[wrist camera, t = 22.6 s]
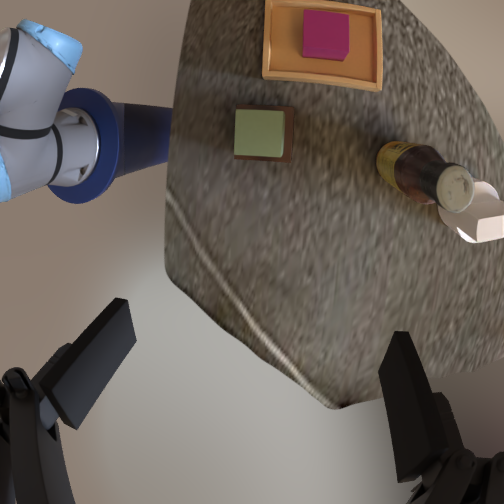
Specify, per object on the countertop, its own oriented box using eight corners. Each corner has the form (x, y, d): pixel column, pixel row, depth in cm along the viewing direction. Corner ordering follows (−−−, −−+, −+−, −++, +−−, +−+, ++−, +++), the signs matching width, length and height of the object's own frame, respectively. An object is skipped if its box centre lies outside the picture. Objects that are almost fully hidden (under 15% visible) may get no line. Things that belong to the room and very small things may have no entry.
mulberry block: (302, 57, 32) (302, 46, 27) (303, 23, 30) (303, 9, 25) (342, 62, 32) (349, 52, 27) (343, 28, 29) (349, 14, 24)
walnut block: (241, 155, 40) (234, 159, 35) (243, 107, 37) (236, 104, 32) (291, 159, 39) (290, 162, 34) (294, 110, 36) (294, 106, 32)
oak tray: (264, 79, 35) (261, 76, 32) (267, 4, 30) (265, -4, 27) (376, 92, 33) (382, 89, 31) (376, 16, 28) (380, 9, 26)
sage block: (242, 151, 35) (233, 154, 30) (243, 112, 33) (235, 109, 28) (283, 154, 34) (280, 157, 30) (285, 114, 32) (283, 111, 28)
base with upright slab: (438, 233, 39) (474, 265, 28) (435, 176, 36) (476, 194, 25) (480, 225, 37) (520, 254, 26) (479, 172, 34) (525, 188, 23)
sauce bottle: (416, 147, 35) (496, 166, 17) (407, 188, 38) (478, 234, 20) (375, 135, 36) (438, 141, 18) (367, 177, 38) (420, 217, 20)
